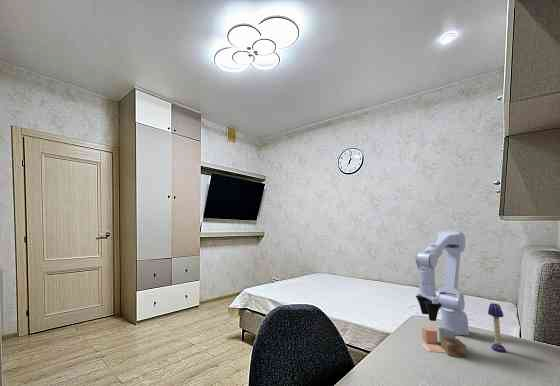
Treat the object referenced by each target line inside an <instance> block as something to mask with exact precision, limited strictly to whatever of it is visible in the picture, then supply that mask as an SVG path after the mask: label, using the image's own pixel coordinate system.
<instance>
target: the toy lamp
mask: <svg viewBox="0 0 560 386" xmlns="http://www.w3.org/2000/svg"><path fill="white" fill-rule="evenodd" d="M487 310H488V311H487V314H488V315H489V316H491V317H493V326H494V329H493V330H494V343H493V344H491V349H492V350H494V351H495V352H499V353H506V352H507V349H506V347H504V345H502V342H501V341H502V339H501V329H500V327H501V326H500V325H501V324H500V318H503V317H504V313H503V311H502V307H501V305H500V304H498V303H493V302H492V303H490V304H489V306H488V309H487Z"/></svg>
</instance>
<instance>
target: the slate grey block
mask: <svg viewBox="0 0 560 386" xmlns="http://www.w3.org/2000/svg"><path fill="white" fill-rule="evenodd" d="M456 336H457V335H455V331H454V330H452V329H450V328H449V327H438V338H439V341H440V342H441V337H443V338H455V339H457V337H456Z"/></svg>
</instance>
